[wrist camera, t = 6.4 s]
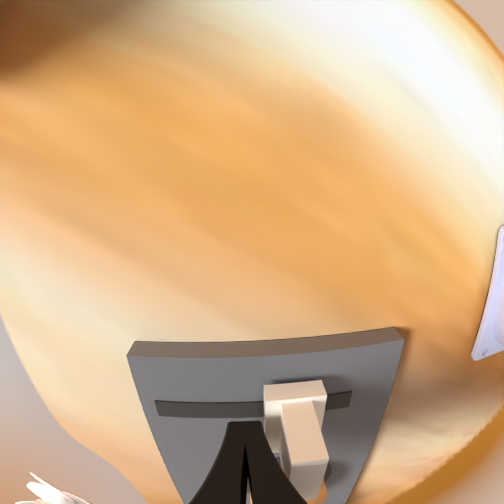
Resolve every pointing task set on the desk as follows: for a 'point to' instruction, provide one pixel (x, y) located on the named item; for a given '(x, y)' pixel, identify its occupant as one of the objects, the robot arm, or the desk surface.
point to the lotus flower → (51, 494)
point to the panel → (252, 397)
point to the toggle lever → (298, 432)
